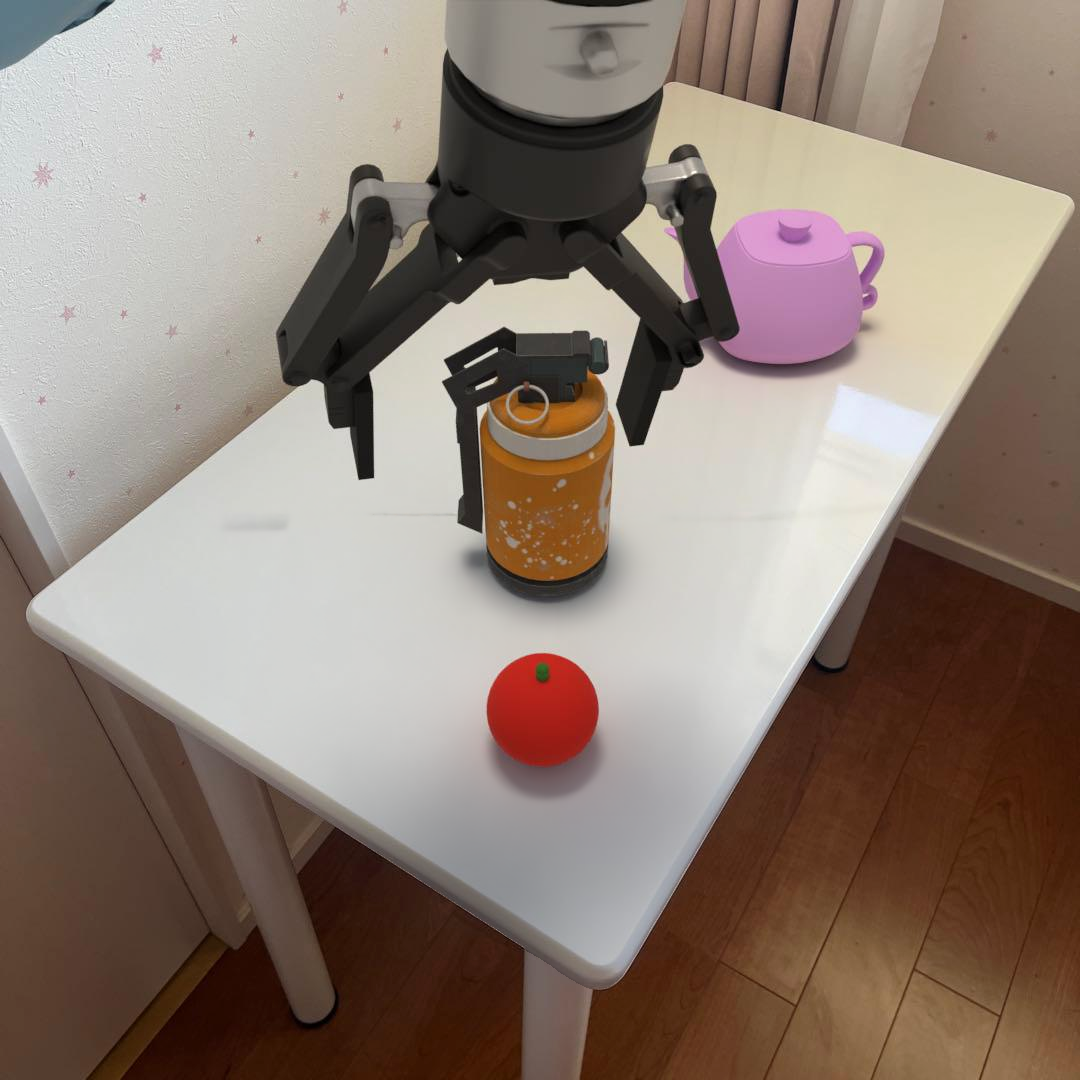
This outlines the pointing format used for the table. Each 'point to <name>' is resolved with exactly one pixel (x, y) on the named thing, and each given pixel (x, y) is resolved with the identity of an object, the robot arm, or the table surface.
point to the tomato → (542, 709)
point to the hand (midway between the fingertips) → (499, 440)
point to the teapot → (793, 284)
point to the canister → (536, 456)
